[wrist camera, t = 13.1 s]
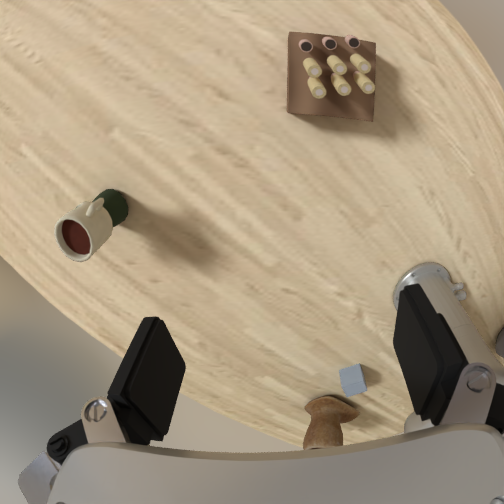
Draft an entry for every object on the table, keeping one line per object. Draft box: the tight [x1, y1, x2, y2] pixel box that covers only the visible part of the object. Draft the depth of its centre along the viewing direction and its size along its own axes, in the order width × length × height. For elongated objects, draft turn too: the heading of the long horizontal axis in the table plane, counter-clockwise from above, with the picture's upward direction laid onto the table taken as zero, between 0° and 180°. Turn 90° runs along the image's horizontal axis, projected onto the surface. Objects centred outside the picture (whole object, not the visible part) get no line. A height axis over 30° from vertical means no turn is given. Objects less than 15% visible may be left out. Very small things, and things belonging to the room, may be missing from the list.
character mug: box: [54, 189, 128, 262], centre depth 41 cm, size 11×7×13 cm, turn 141°
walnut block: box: [287, 32, 376, 122], centre depth 33 cm, size 11×11×5 cm
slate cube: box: [339, 363, 367, 397], centre depth 60 cm, size 5×5×5 cm
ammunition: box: [299, 35, 375, 99], centre depth 28 cm, size 5×7×8 cm
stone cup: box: [303, 396, 360, 450], centre depth 64 cm, size 15×12×15 cm
